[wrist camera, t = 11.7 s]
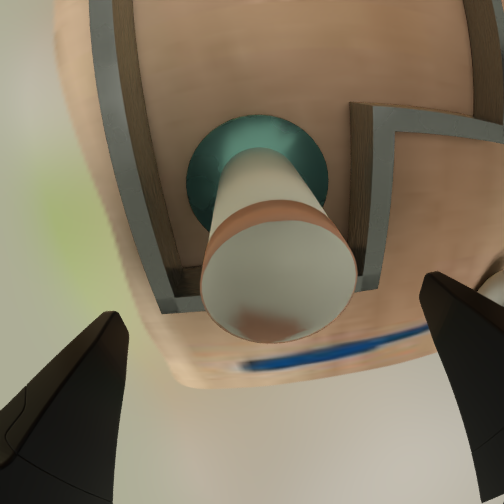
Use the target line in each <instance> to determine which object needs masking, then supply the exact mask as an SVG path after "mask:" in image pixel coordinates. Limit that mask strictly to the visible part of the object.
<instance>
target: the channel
mask: <svg viewBox="0 0 504 504" xmlns="http://www.w3.org/2000/svg"><path fill="white" fill-rule="evenodd" d="M463 2H464V7H465V12H466V17H467V22H468V28H469V35H470V43H471V51H472V62H473V77H474V116H470V115H465V114H460V113H455V112H449V111H443V110H437V109H430V108H423V107H415V106H406V105H396V104H383V103H366V102H350V125H351V188H350V214H349V231H348V246H349V247H350V249H351V251H352V253H353V255H354V258H355V261H356V265H357V283H356V288H355V291H354V292H360V291H366V290H372V289H378V285H379V280H380V274H381V269H382V263H383V257H384V251H385V244H386V237H387V230H388V222H389V214H390V205H391V194H392V182H393V167H394V144H395V131H400V132H416V133H429V134H440V135H449V136H457V137H465V138H472V139H479V140H485V141H491V142H496V143H502V144H504V12H503V7H502V3H501V0H463ZM89 16H90V32H91V44H92V54H93V63H94V71H95V78H96V85H97V91H98V98H99V104H100V109H101V115H102V120H103V125H104V130H105V135H106V139H107V144H108V148H109V153H110V157H111V161H112V165H113V169H114V173H115V177H116V181H117V184H118V188H119V192H120V195H121V199H122V202H123V206H124V209H125V213H126V216H127V219H128V222H129V226H130V229H131V232H132V235H133V238H134V241H135V244H136V247H137V250H138V253H139V256H140V258H141V261H142V264H143V267H144V270H145V272H146V275H147V278H148V280H149V283H150V286H151V288H152V291H153V293H154V296H155V298H156V301H157V303H158V306H159V308H160V311H161V313H162V314H170V313H184V312H197V311H206V310H205V308H204V305H203V303H202V300H201V295H200V279H201V273H202V267H203V266H198V267H189V268H182V265H181V262H180V258H179V255H178V251H177V247H176V244H175V240H174V236H173V233H172V229H171V225H170V221H169V217H168V213H167V209H166V205H165V201H164V197H163V192H162V188H161V184H160V179H159V175H158V170H157V166H156V161H155V156H154V152H153V147H152V142H151V136H150V131H149V126H148V120H147V115H146V109H145V103H144V97H143V91H142V84H141V77H140V70H139V63H138V55H137V47H136V38H135V28H134V18H133V5H132V0H89ZM256 147H262V148H269V149H273V150H275V151H277V152H279V153H281V154H283V155H284V156H285V157H286V158H287V159H288V160H289V161H290V162H291V163H292V165H293V166H294V167H295V169H296V170H297V172H298V173H299V174H300V176H301V177H302V179H303V180H304V182H305V183H306V184H307V186H308V187H309V189H310V190H311V192H312V193H313V195H314V196H315V198H316V199H317V201H318V202H319V204H320V205H321V207H323V205H324V202H325V199H326V195H327V190H328V171H327V166H326V162H325V160H324V157H323V154H322V152H321V151H320V149H319V147H318V146H317V144H316V143H315V142H314V140H313V139H312V138H311V137H310V136H309V135H308V134H307V133H306V132H305V131H303V130H302V129H301V128H299V127H298V126H296V125H295V124H293V123H291V122H289V121H287V120H284V119H281V118H278V117H274V116H269V115H247V116H242V117H238V118H235V119H232V120H229V121H227V122H225V123H223V124H221V125H220V126H218V127H217V128H215V129H214V130H213V131H211V132H210V133H209V134H208V135H207V136H206V137H205V138H204V139H203V140H202V142H201V143H200V144H199V146H198V147H197V149H196V150H195V152H194V154H193V156H192V158H191V160H190V163H189V167H188V171H187V178H186V188H187V196H188V199H189V203H190V206H191V208H192V210H193V212H194V214H195V216H196V217H197V219H198V220H199V222H200V223H201V224H202V225H203V226H204V227H205V228H206V229H207V230H208V231H209V232H210V229H211V223H212V218H213V212H214V207H215V201H216V196H217V190H218V185H219V180H220V175H221V172H222V170H223V168H224V166H225V165H226V163H227V162H228V161H229V160H230V159H231V158H232V157H233V156H235V155H236V154H238V153H239V152H241V151H243V150H246V149H249V148H256Z"/></svg>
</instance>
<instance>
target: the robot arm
mask: <svg viewBox="0 0 504 504" xmlns="http://www.w3.org/2000/svg"><path fill="white" fill-rule="evenodd" d="M419 300H420V304H421V307H422V309H423V312H424V315H425V318H426V321H427V323H428V326H429V329H430V332H431V336H432V338H433V341H434V344H435V346H436V349H437V351H438V354H439V356H440V358H441V361H442V363H443V366H444V368H445V371H446V374H447V376H448V379H449V382H450V384H451V387H452V390H453V393H454V395H455V398H456V401H457V404H458V407H459V410H460V413H461V416H462V420H463V423H464V427H465V430H466V433H467V437H468V441H469V445H470V448H471V452H472V457H473V461H474V466H475V470H476V475H477V481H478V486H479V492H480V498H481V502H482V503H483V502H486V501H488V500H491V499H493V498H495V497H498V496H500V495H502V494H504V307H503V306H501V305H499V304H498V303H496V302H494V301H492V300H491V299H489V298H487V297H485V296H484V295H482V294H480V293H478V292H476V291H475V290H473V289H471V288H469V287H467V286H465V285H463V284H462V283H460V282H458V281H456V280H454V279H452V278H450V277H448V276H446V275H445V274H443V273H441V272H438V271H435V272H430V273H427V274H426V275H425V277H424V281H423V284H422V287H421V291H420V294H419ZM128 344H129V333H128V330H127V328H126V326H125V324H124V322H123V320H122V318H121V316H120V315H119V313H118V312H116V311H106V312H103V313H102V314H101V315H100V316H99V317H98V318H96V319H95V320H94V321H93V322H92V323H91V324H90V325H89V326H88V327H87V328H85V329H84V330H83V331H82V332H81V333H80V334H79V335H78V336H77V337H76V338H75V339H73V341H71V342H70V343H69V344H68V345H67V346H66V347H65V348H64V349H63V350H62V351H61V352H60V353H59V354H58V355H56V356H55V357H54V358H53V359H52V360H51V361H50V362H49V363H48V364H47V365H46V366H45V367H44V368H43V369H42V370H41V371H40V372H39V373H38V374H37V375H36V376H35V377H34V378H33V379H32V380H31V381H30V382H29V383H28V384H27V386H25V387H24V388H23V389H22V390H21V391H20V392H19V393H18V394H17V395H16V396H15V397H14V398H13V399H12V400H11V401H10V402H9V403H8V404H7V405H6V406H5V407H4V408H3V409H2V410H0V504H113V502H112V501H113V484H114V469H115V457H116V447H117V438H118V430H119V421H120V414H121V407H122V401H123V394H124V387H125V380H126V367H127V355H128ZM503 504H504V503H503Z"/></svg>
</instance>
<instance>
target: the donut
mask: <svg viewBox="0 0 504 504" xmlns="http://www.w3.org/2000/svg"><path fill="white" fill-rule="evenodd" d="M477 292H478V293H480V294H482V295H484V296H485V297H487V298H489V299H491V300H492V301H494V302H496V303H498V304H499V305H501V306H504V270H502V271H499V272H497V273H496V274H494V275H493V276H491V277H490V278H488V279H487V280H486V282H485V283H484V284H483V285H482V286H481V287H480V288H479V289H478V291H477Z"/></svg>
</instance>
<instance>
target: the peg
mask: <svg viewBox="0 0 504 504" xmlns="http://www.w3.org/2000/svg"><path fill="white" fill-rule="evenodd" d="M356 283H357V265H356V261H355V258H354V255H353V253H352V251H351V249H350V247H349V246H348V244H347V243H346V241H345V239H344V238H343V236H342V235H341V233H340V232H339V230H338V229H337V227H336V226H335V224H334V223H333V222H332V221H331V220H330V219H329V217H328V216H327V214H326V213H325V211H324V210H323V208H322V207H321V205H320V204H319V202H318V201H317V199H316V198H315V196H314V195H313V193H312V192H311V190H310V189H309V187H308V186H307V184H306V183H305V182H304V180H303V179H302V177H301V176H300V174H299V173H298V172H297V170H296V169H295V167H294V166H293V165H292V163H291V162H290V161H289V160H288V159H287V158H286V157H285V156H284V155H283V154H281V153H279V152H277V151H275V150H273V149H269V148H262V147H256V148H249V149H246V150H243V151H241V152H239V153H238V154H236V155H235V156H233V157H232V158H231V159H230V160H229V161H228V162H227V163H226V165H225V166H224V168H223V170H222V172H221V175H220V180H219V185H218V190H217V196H216V201H215V207H214V212H213V218H212V223H211V229H210V235H209V241H208V244H207V247H206V250H205V255H204V261H203V267H202V273H201V279H200V295H201V300H202V303H203V305H204V308H205V310H206V311H207V313H208V315H209V316H210V317H211V319H212V320H213V321H214V322H215V323H216V324H217V325H218V326H219V327H221V328H222V329H223V330H225V331H226V332H228V333H230V334H232V335H234V336H236V337H238V338H241V339H244V340H248V341H252V342H257V343H285V342H291V341H295V340H299V339H302V338H305V337H308V336H310V335H312V334H314V333H317V332H318V331H320V330H322V329H324V328H325V327H327V326H328V325H329V324H331V323H332V322H333V321H334V320H335V319H336V318H338V317H339V315H340V314H341V313H342V312H343V311H344V310H345V308H346V307H347V305H348V304H349V302H350V300H351V298H352V296H353V294H354V291H355V288H356Z"/></svg>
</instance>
